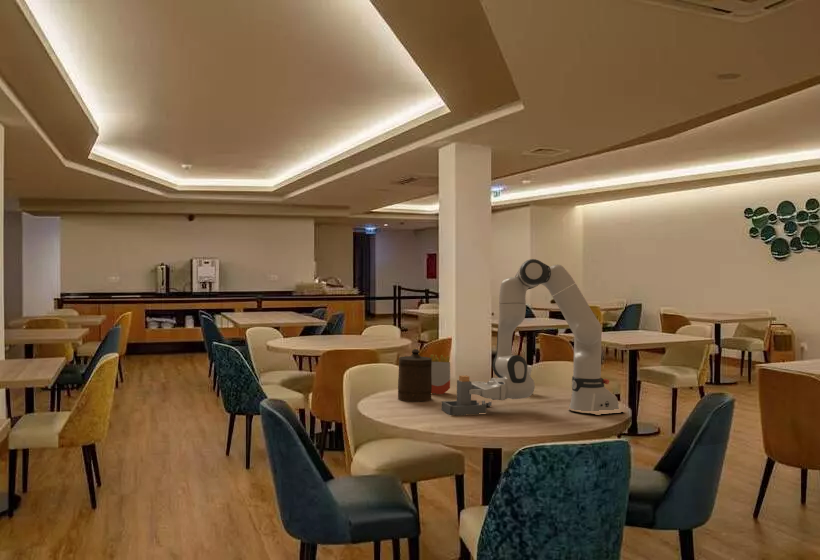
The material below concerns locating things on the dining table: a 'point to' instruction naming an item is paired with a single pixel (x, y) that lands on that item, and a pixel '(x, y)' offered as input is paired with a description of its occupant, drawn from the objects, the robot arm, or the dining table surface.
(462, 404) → the grey corked bottle
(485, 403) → the clip
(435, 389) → the french fries container
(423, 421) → the dining table surface
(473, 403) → the tray
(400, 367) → the wooden container
